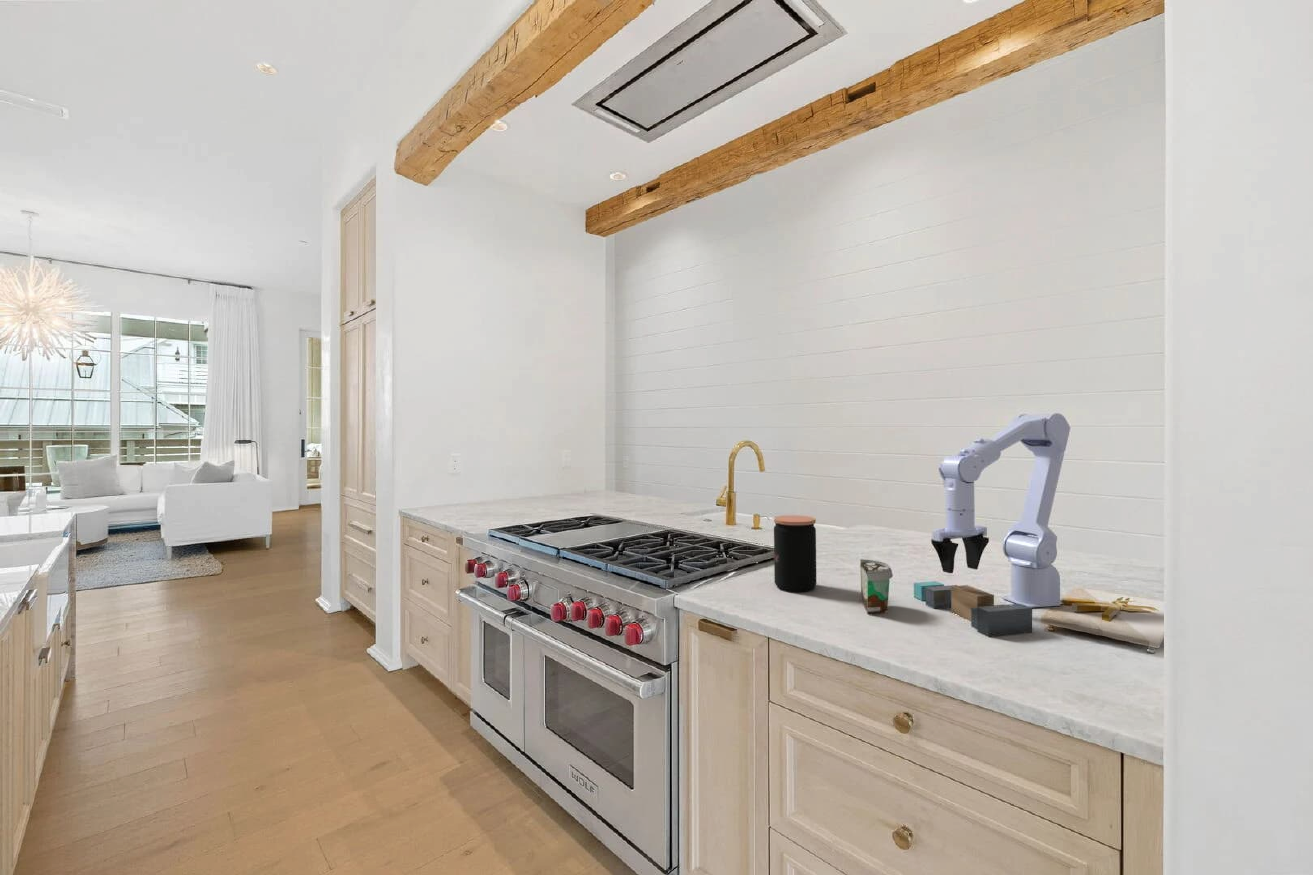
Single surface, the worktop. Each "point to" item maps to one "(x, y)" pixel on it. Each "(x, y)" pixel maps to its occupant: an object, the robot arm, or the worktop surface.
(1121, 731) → the worktop surface
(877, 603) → the food container
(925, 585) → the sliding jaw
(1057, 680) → the worktop surface
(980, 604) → the walnut block
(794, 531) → the coffee jar
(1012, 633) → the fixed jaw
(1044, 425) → the robot arm
